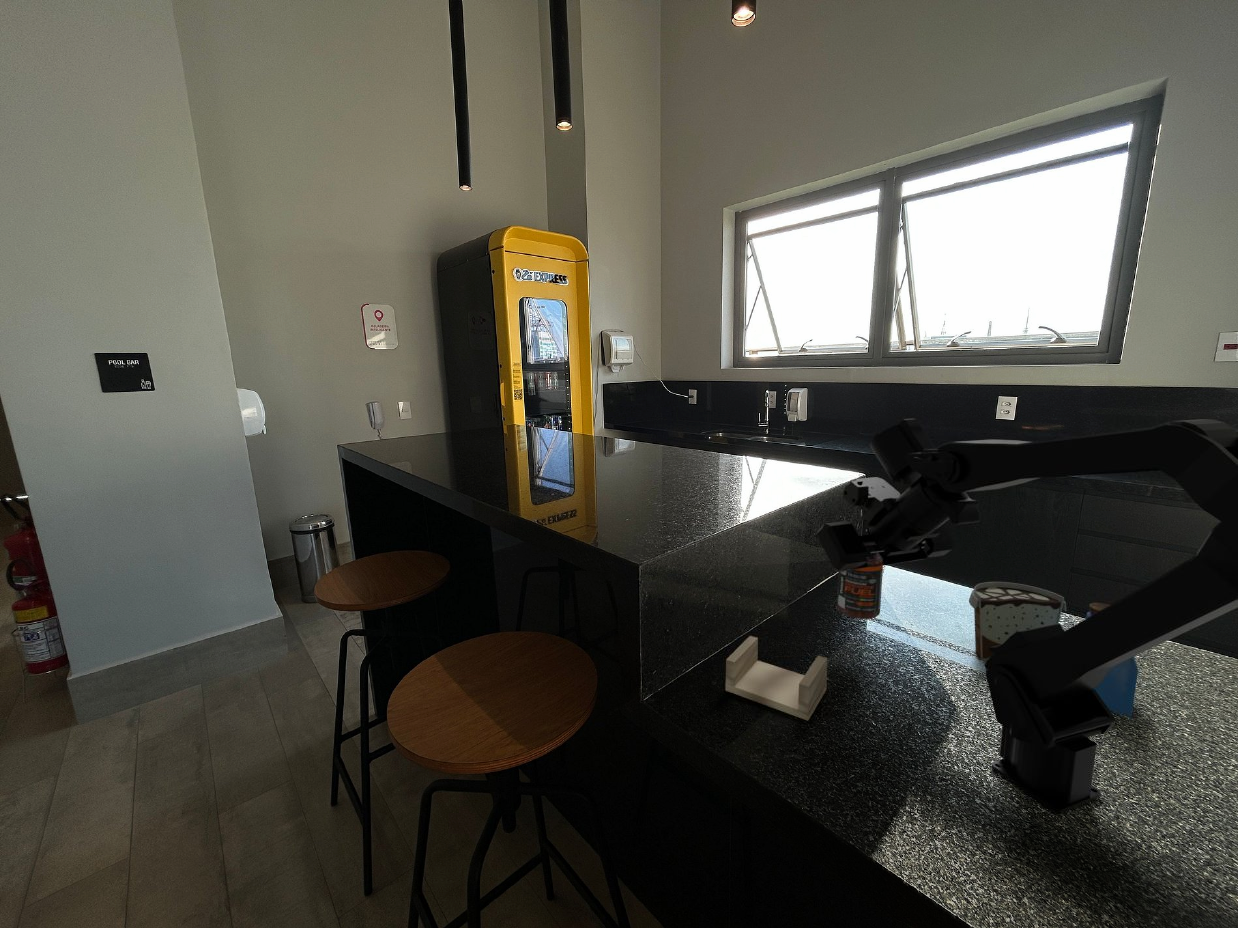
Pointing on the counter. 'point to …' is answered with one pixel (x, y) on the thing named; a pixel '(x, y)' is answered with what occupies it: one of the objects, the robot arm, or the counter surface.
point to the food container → (1010, 612)
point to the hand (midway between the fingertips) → (853, 566)
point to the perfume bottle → (1117, 680)
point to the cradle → (775, 681)
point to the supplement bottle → (861, 589)
